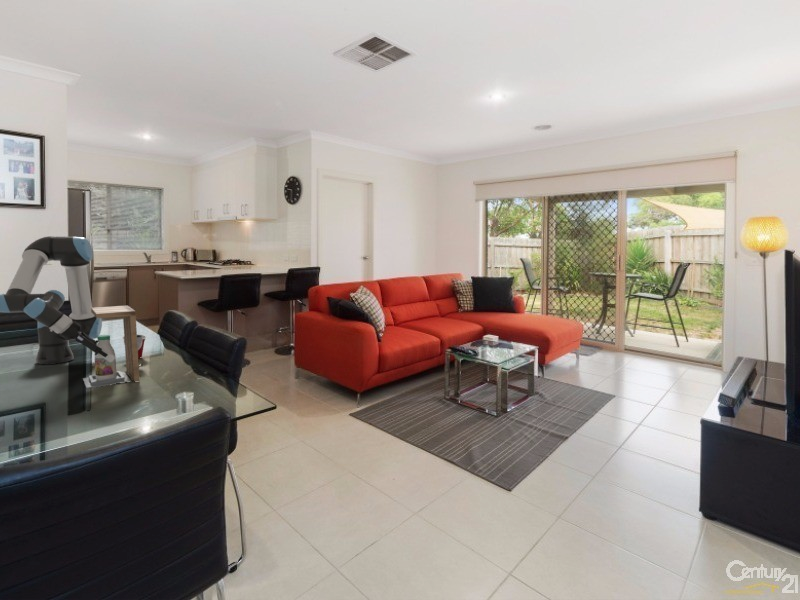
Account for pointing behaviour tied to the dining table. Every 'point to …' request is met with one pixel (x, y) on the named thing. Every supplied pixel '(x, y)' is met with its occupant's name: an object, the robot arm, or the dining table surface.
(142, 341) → the plastic cup
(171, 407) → the dining table surface
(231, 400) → the dining table surface
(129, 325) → the overhang shelf
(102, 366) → the milk bottle
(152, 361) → the dining table surface
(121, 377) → the grey square tray
